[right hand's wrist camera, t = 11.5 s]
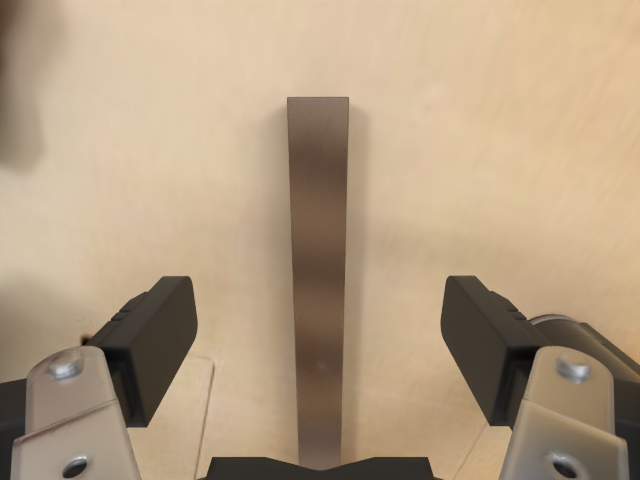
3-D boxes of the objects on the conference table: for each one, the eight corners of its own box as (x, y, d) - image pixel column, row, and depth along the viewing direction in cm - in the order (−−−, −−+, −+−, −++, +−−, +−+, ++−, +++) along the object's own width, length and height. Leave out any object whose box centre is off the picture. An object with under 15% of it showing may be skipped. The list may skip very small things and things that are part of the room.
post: (292, 99, 33) (286, 97, 27) (343, 99, 33) (349, 96, 27) (305, 562, 57) (303, 618, 51) (334, 562, 57) (336, 618, 51)
